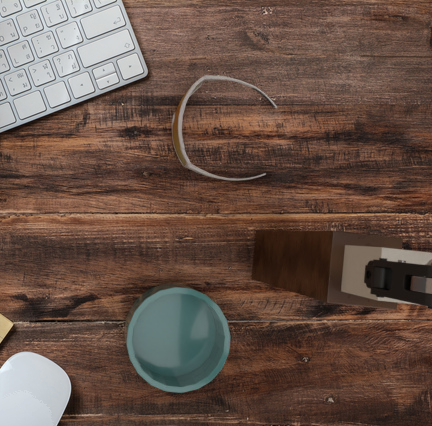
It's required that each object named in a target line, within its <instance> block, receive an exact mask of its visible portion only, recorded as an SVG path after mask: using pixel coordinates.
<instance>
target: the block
mask: <svg viewBox="0 0 432 426" xmlns="http://www.w3.org/2000/svg"><path fill="white" fill-rule="evenodd" d="M379 258H386V259H387V261H393V262H398V260H404V261H406V263H412V264H422V265H425V264H427V263H428V262H429V261H430V260H431V259H432V252H430V251H419V250H411V249H403V248H402V249H393V248H384V247H369V246H352V245H345V250H344V262H343V273H342V284H341V291H342V292H346V293H350V294H354V295H358V296H362V297H366V298H370V299H374V300H378V301H388V302H397V304H408V305H417V306H420V305H419V304H415V303H410V302H405V301H401V300H396V299H392V298H387V297H384V298H381V297H376V295H374V294H370V292H371V289H370V288H368V287H367V286H366V283H364V276H365V265H367V264H368V262H369V261H371V260H372V261H373V259H375V260H379Z"/></svg>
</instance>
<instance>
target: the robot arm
mask: <svg viewBox="0 0 432 426" xmlns="http://www.w3.org/2000/svg"><path fill="white" fill-rule="evenodd" d="M364 283H366V286H367V287H368V288H370V289H371V292H370V294H374V295H376V297H381V298H384V297H387V298H392V299H396V300H401V301H405V302H410V303H415V304H414V305H417V304H419V305H418V306H425V307H426V308H427V309H428V310H431V311H432V259H431V260H430V261H429V262H428V263H427V264H425V265H422V264H412V263H406V261H404V260H398V262H393V261H387V259H386V258H379V260H375V259H373V261H372V260H371V261H369V262H368V264H367V265H365V276H364Z"/></svg>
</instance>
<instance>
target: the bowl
mask: <svg viewBox="0 0 432 426" xmlns="http://www.w3.org/2000/svg"><path fill="white" fill-rule="evenodd" d="M123 333H124V334H123V338H124V342H125V347H126V352H127V355H128V358H129V361H130V363H131V364H132V366H133V368H134V370H135V371H136V373H137V375H138V376H140V377H141V378H142V379H143V380H144V381H145V382H146V383H148V384H149V386H152V387H154V388H156V389H159V390H161V391H163V392H168V393H175V394H176V393H178V394H183V393H187V392H192V391H197V390H199V389H201V388H203V387H204V386H206V385H207V384H209V383H211V382H212V381H213V380H214V379H215V377H217V376H218V374H219V373H221V371H222V370H223V368H224V366H225V363H226V362H227V359H228V357H229V354H230V347H231V338H232V337H231V332H230V327H229V322H228V319H227V318H226V316H225V314H224V312H223V310H222V309H221V307H220V306H219V304H217V303H216V302H215V301H214V300H213V299H212V298H211V297H210V296H208V294H206V293H204V292H202V291H200V290H198V289H196V288H193V287H192V286H189V285H187V284H182V283H172V282H170V283H163V284H159V285H156V286H153V287H151V288H149V289H147V290H146V291H144V292H143V293H142V294H141V295H140V296H138V298H137V299H136V300H135V301H134V302H133V303H132V305H131V306H130V308H129V311H128V312H127V315H126V317H125V322H124V331H123Z"/></svg>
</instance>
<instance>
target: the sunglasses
mask: <svg viewBox="0 0 432 426" xmlns="http://www.w3.org/2000/svg"><path fill="white" fill-rule="evenodd" d="M205 81H207V82H213V81H215V82H217V81H227V82H229V81H230V82H235V83H237V84H240V85H243V86H245V87H248V88H250V89H251V90H254V91H255V92H257V93H258V94H259V95H261V96H262V97H263V98H264V99H265V100H266V101H267V102H268V104H270V105H271V107H272V108H273V109H278V106H277V104H275V102H274V101H273V100H272V99H271V98H270V97H269V95H268V94H266V93H265V92H264V91H263V90H261V89H260V88H259V87H258V86H255V85H253V84H251V83H248V82H246V81H244V80H241V79H238V78H233V77H229V76H225V75H212V74H211V75H210V74H204V75H203V76H201V77H200V78H198V79H197V80H196V81H195V82H194V83H193V84H192V85H191V86H190V87H189V89H187V91H186V92H185V93H184V95H183V96H182V97H181V99H180V100H179V103H178V105H177V106H176V110H175V112H174V113H173V114H172V119H171V137H172V144H173V148H174V151H175V153H176V156H177V159H178V160H179V162H180V164H181V166H182V167H183V168H185V169H189V170H190V171H193V172H194V173H197V174H199V175H201V176H205V177H209V178H212V179H217V180H223V181H232V182H241V181H250V180H253V179H257V178H258V179H259V178H261V177H263V176H266V175H267V173H266V172H265V173H260V174H257V175H253V176H249V177H242V178H241V177H240V178H235V177H234V178H233V177H224V176H221V175H217V174H213V173H211V172H208V171H206V170H204V169H202V168H200V167H198V166H196V165H194V164H193V163H192V162H191V160H190V159H189V156H188V154H187V152H186V149H185V148H186V147H185V143H184V137H183V118H184V113H185V109H186V106H187V103H188V100H189V98H190V97H191V96H192V95H193V94H194V93H195V92H196V91H198V90H199V89H200V88H201V87H202V85H203V83H204V82H205Z"/></svg>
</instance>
